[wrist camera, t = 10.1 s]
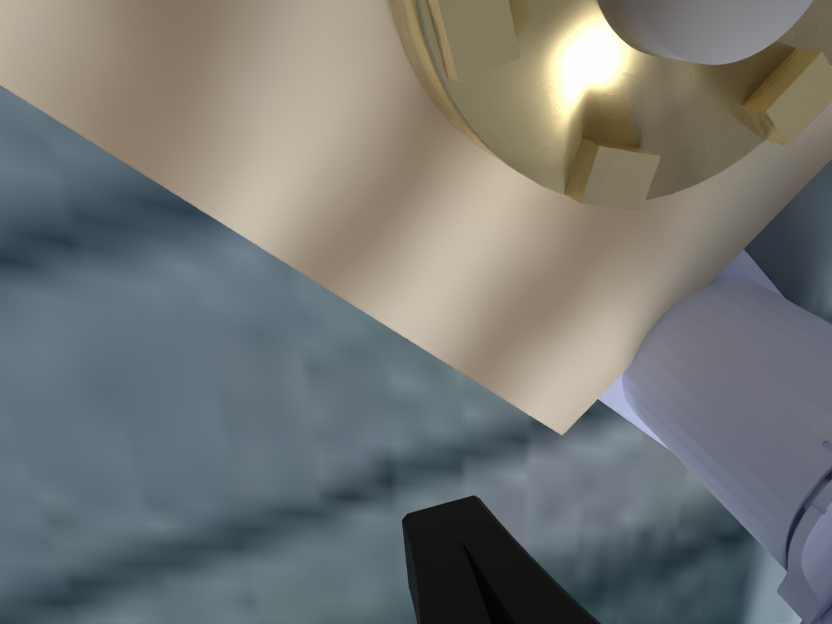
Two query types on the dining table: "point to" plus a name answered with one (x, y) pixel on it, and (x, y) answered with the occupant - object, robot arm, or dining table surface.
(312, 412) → the dining table surface
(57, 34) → the base plate
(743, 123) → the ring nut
